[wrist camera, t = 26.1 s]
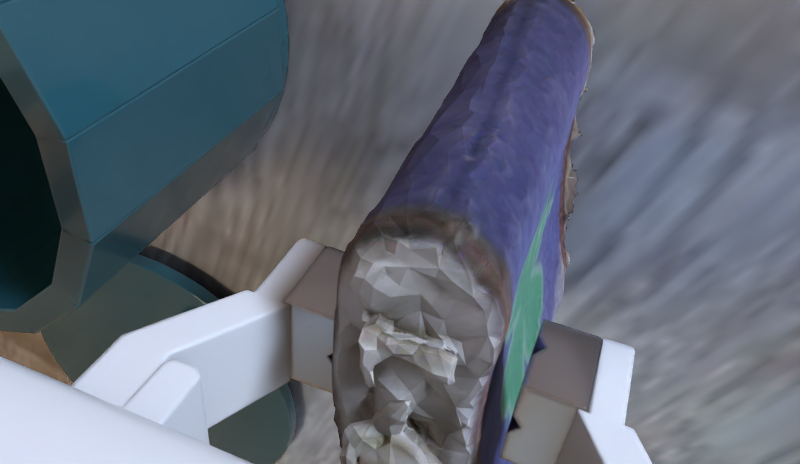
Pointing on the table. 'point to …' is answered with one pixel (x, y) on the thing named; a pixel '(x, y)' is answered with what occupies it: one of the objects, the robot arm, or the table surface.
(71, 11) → the pot
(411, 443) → the flask
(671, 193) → the table surface
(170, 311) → the pot lid
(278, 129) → the table surface
